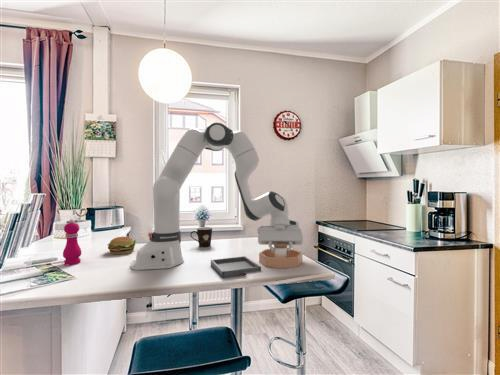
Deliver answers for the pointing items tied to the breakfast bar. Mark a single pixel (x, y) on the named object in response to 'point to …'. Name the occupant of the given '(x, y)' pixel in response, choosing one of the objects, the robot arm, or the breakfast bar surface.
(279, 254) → the spice jar
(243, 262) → the tray
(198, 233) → the coffee mug
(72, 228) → the pepper mill
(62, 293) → the breakfast bar surface
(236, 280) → the breakfast bar surface
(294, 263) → the bowl
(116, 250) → the food
